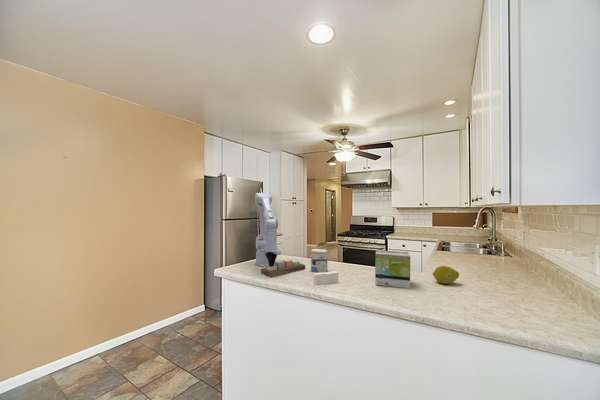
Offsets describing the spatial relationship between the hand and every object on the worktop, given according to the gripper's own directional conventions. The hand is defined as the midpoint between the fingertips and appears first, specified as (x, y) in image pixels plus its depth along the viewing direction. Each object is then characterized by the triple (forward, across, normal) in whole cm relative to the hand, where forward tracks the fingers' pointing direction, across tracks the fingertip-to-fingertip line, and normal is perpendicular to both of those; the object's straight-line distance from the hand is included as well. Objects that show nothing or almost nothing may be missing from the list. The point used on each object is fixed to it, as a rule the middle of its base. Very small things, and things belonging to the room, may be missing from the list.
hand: (271, 266), depth 135 cm
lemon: (+4, -66, -54) cm, 85 cm away
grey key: (+2, 0, -5) cm, 5 cm away
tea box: (+4, -50, -35) cm, 61 cm away
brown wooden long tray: (+4, 0, -8) cm, 9 cm away
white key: (+3, 0, 0) cm, 3 cm away
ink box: (+4, -13, -23) cm, 27 cm away
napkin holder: (+5, -29, -12) cm, 31 cm away
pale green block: (+3, 0, -16) cm, 16 cm away
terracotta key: (+2, 0, -10) cm, 11 cm away
